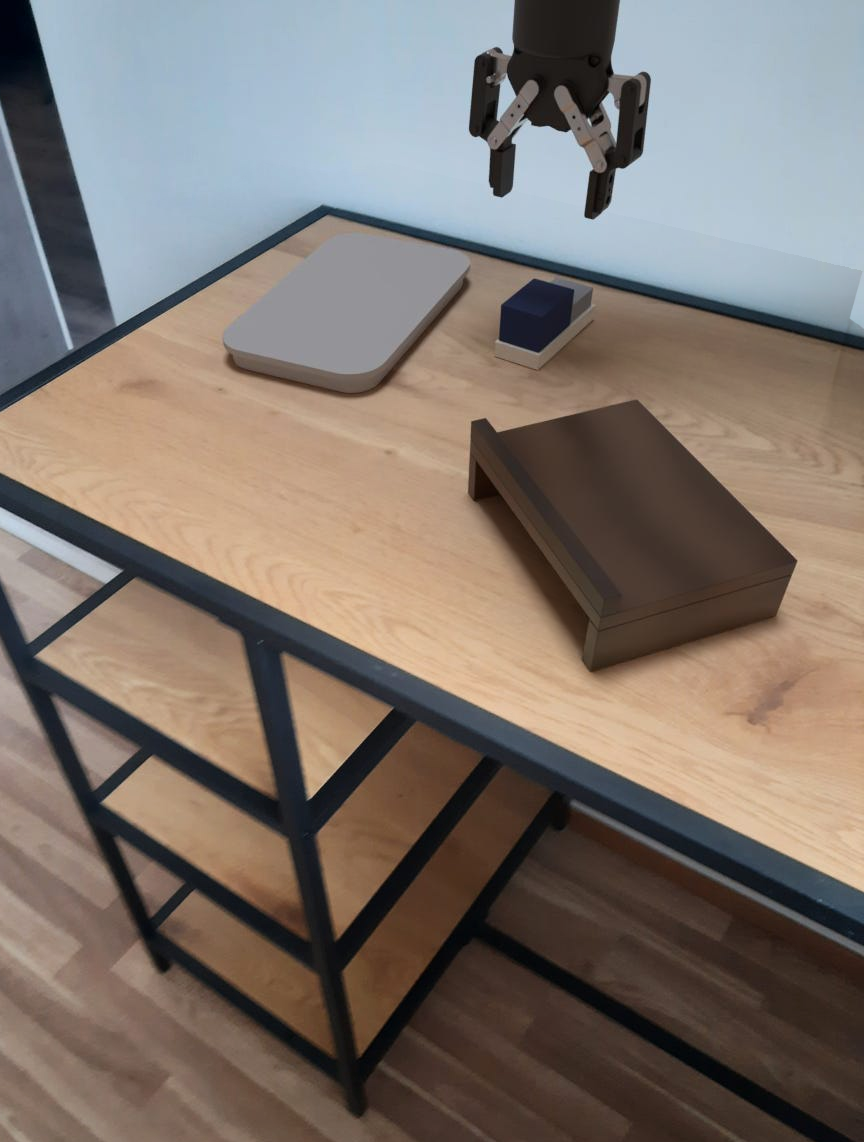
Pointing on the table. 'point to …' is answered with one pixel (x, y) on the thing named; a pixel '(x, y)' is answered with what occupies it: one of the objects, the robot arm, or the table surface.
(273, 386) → the table surface
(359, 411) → the table surface
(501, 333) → the stacked block set
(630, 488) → the dark wooden stand
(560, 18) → the robot arm
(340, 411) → the table surface
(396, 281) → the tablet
